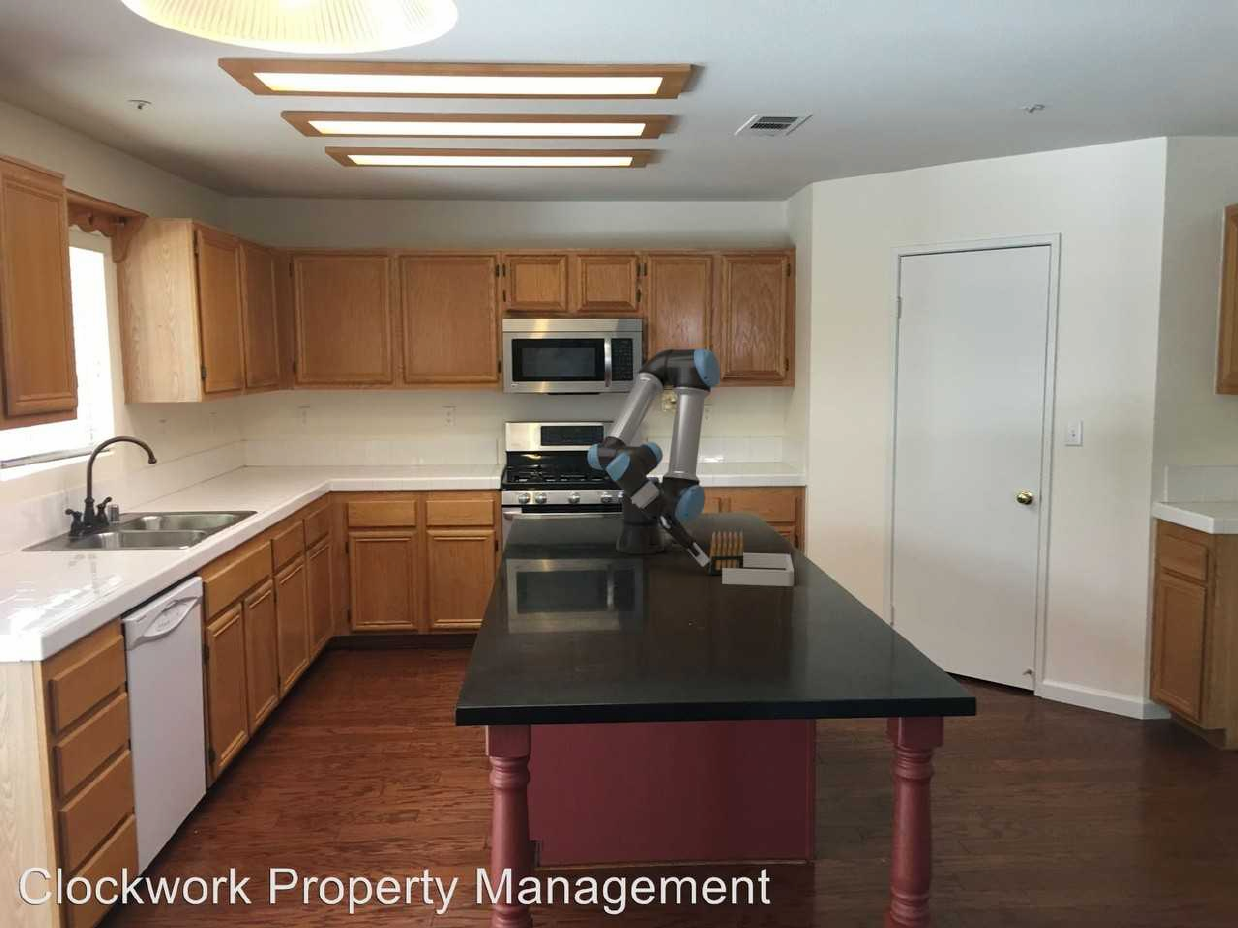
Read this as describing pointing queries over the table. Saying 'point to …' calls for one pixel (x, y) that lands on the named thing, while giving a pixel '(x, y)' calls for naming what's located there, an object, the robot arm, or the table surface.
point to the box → (761, 575)
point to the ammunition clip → (725, 553)
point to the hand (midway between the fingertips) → (706, 563)
